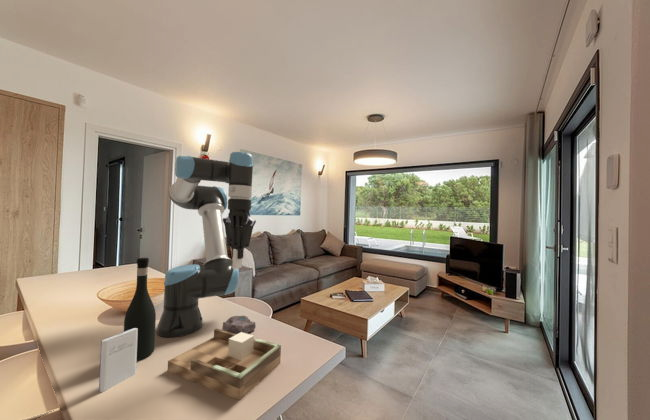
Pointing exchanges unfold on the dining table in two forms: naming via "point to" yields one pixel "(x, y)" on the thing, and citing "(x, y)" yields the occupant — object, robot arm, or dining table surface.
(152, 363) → the dining table surface
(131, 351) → the hard drive
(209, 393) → the dining table surface
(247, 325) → the rock
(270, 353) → the wooden tray
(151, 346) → the wine bottle
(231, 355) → the block
